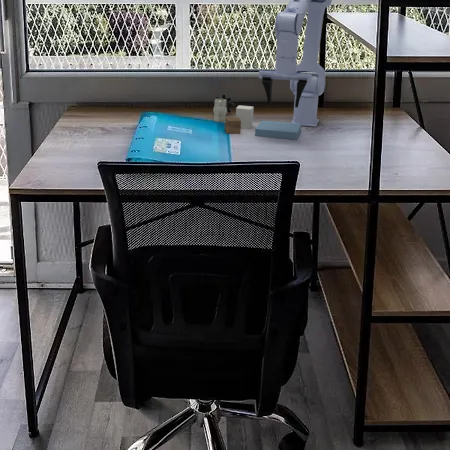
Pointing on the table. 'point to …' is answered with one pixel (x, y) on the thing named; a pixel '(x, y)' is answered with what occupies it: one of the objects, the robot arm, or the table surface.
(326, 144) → the table surface
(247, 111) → the white block
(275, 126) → the base board
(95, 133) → the table surface
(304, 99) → the robot arm
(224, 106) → the valve
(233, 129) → the walnut block
